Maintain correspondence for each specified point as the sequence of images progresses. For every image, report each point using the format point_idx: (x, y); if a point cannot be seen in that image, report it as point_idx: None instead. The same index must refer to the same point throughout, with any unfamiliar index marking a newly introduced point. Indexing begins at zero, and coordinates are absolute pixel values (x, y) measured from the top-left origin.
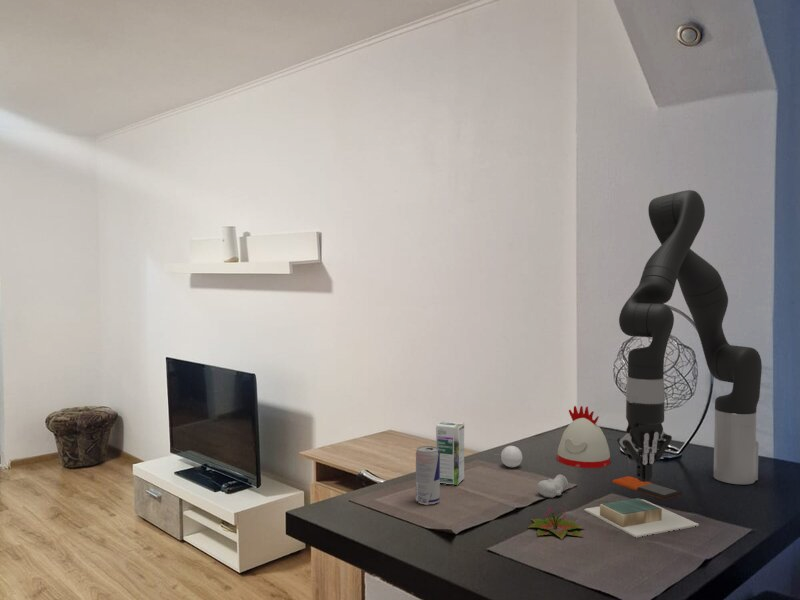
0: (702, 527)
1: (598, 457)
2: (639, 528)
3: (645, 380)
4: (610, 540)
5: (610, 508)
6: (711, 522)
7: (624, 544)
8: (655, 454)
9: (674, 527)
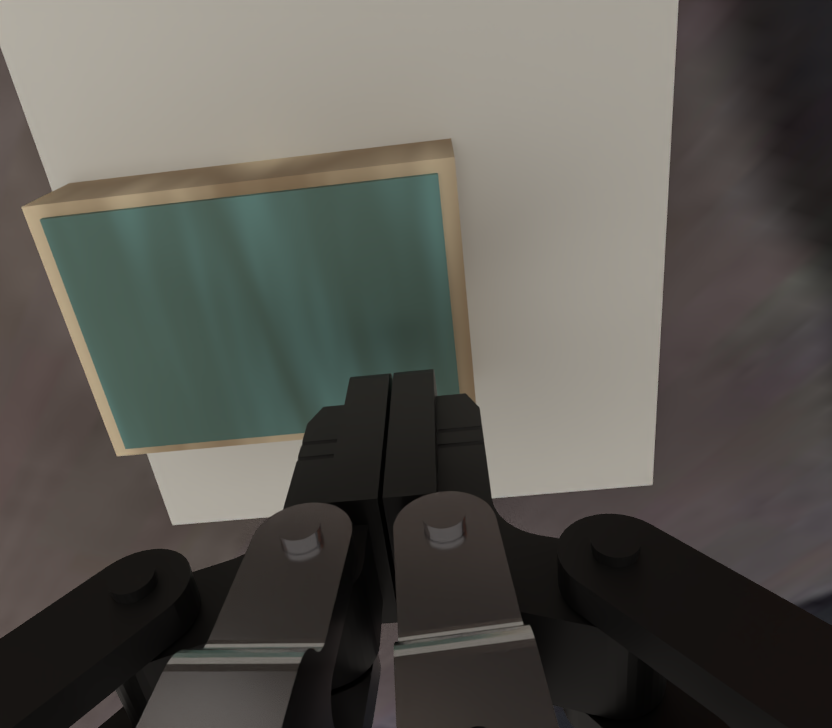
0: (652, 494)
1: None
2: (247, 451)
3: None
4: (17, 509)
5: (79, 320)
6: (775, 451)
7: (76, 561)
8: (590, 714)
9: None
